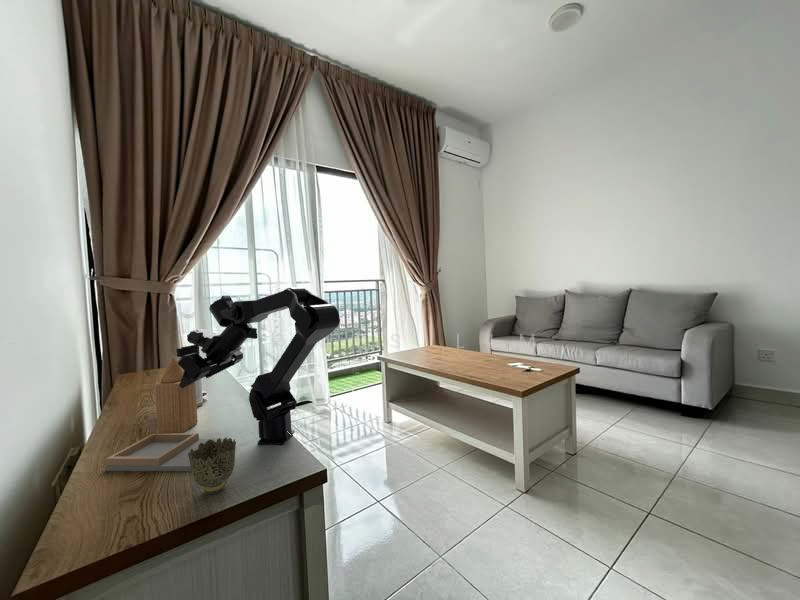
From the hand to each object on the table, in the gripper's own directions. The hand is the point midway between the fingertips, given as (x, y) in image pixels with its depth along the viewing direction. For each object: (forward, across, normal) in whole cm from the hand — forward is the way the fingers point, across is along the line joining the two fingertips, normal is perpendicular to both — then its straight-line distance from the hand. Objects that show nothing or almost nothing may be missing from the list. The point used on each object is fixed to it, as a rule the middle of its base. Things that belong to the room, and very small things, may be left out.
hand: (194, 381), depth 86 cm
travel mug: (+19, -17, -1) cm, 26 cm away
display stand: (+5, +14, +12) cm, 20 cm away
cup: (-7, +26, +25) cm, 37 cm away
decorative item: (+13, 0, +6) cm, 14 cm away
